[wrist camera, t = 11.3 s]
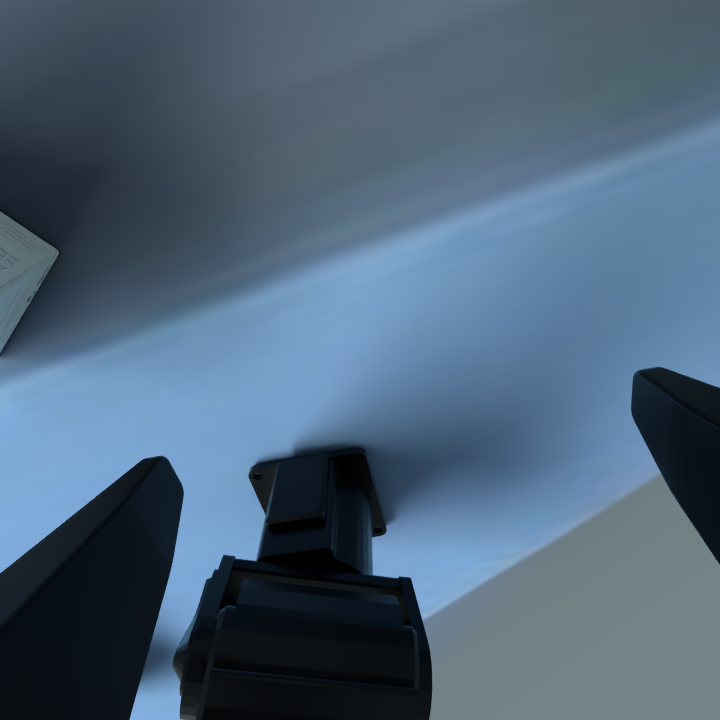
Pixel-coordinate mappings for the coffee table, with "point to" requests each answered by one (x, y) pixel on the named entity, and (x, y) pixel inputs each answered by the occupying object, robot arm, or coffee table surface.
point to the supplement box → (20, 272)
